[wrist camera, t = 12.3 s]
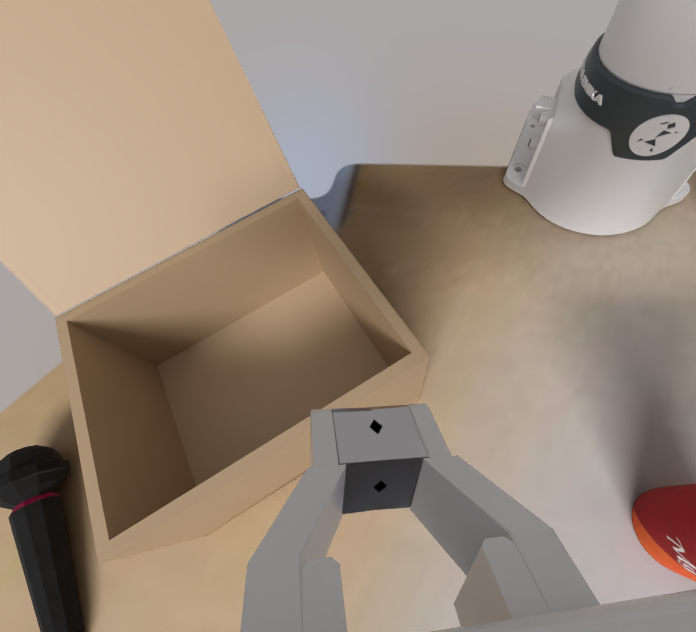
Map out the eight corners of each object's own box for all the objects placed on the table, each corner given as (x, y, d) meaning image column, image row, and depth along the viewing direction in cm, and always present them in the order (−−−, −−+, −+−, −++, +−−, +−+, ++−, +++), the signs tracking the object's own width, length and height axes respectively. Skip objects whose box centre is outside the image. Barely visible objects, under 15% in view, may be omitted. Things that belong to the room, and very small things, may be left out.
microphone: (131, 655, 29) (71, 440, 36) (103, 686, 24) (40, 429, 31) (55, 709, 27) (6, 469, 34) (8, 754, 22) (-39, 462, 29)
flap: (55, 315, 27) (58, 313, 27) (299, 187, 29) (298, 187, 30) (-214, 47, 18) (-203, 50, 19) (161, -99, 21) (163, -92, 21)
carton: (152, 365, 38) (55, 318, 27) (327, 267, 40) (302, 188, 30) (206, 535, 30) (98, 564, 19) (419, 398, 32) (429, 356, 22)
